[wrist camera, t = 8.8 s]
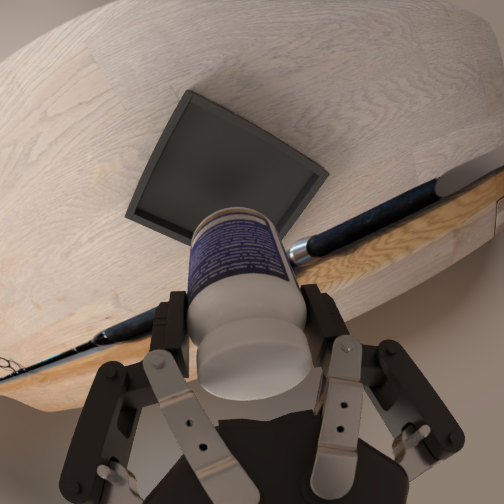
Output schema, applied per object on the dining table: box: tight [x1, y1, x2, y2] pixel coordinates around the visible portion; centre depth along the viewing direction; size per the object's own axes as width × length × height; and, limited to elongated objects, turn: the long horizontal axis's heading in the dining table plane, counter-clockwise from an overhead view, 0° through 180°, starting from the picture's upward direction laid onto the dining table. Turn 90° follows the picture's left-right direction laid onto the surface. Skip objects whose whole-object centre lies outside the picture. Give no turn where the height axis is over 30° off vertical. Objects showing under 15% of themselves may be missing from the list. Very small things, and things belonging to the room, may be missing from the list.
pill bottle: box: [186, 207, 312, 400], centre depth 15 cm, size 6×6×10 cm
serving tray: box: [125, 90, 329, 246], centre depth 28 cm, size 16×14×2 cm
